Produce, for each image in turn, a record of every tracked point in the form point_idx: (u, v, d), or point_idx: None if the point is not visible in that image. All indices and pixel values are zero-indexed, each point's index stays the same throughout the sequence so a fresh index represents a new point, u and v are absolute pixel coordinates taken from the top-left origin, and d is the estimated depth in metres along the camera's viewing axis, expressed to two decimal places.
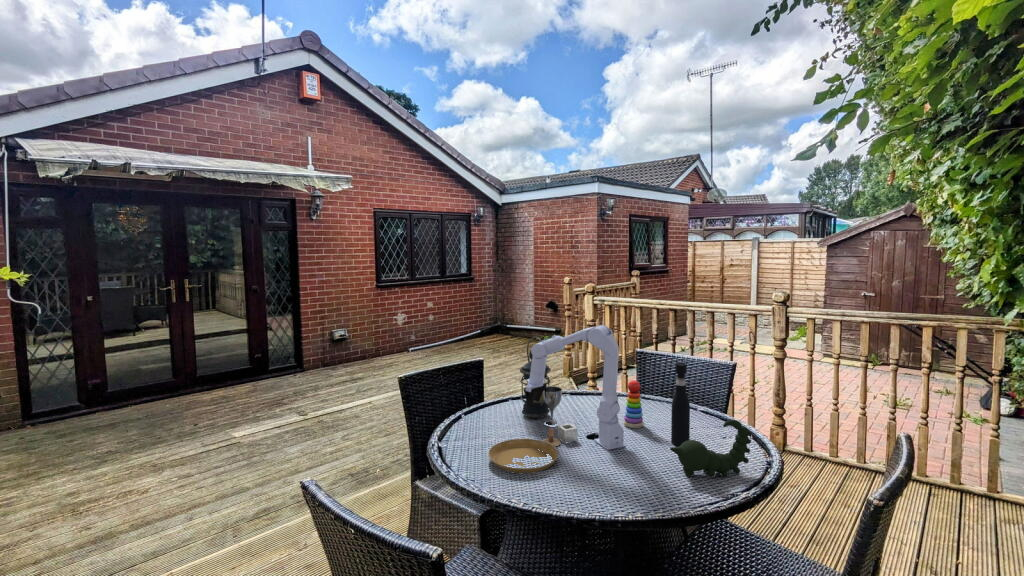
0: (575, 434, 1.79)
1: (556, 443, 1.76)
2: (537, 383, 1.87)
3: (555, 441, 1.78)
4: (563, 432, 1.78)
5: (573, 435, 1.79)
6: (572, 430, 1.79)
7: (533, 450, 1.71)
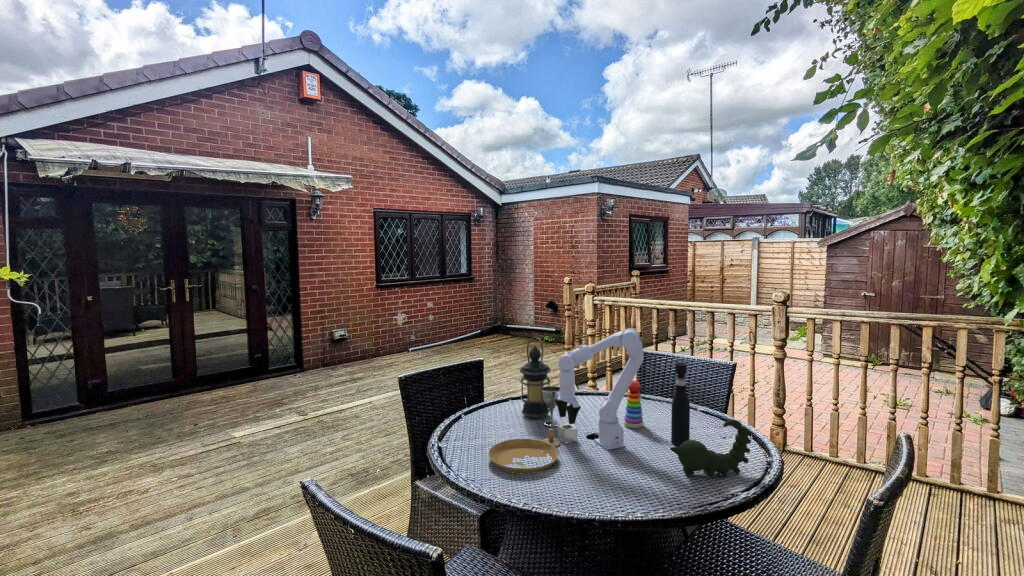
0: (575, 434, 1.79)
1: (556, 443, 1.76)
2: (573, 396, 1.78)
3: (555, 441, 1.78)
4: (563, 432, 1.78)
5: (573, 435, 1.79)
6: (572, 430, 1.79)
7: (533, 450, 1.71)
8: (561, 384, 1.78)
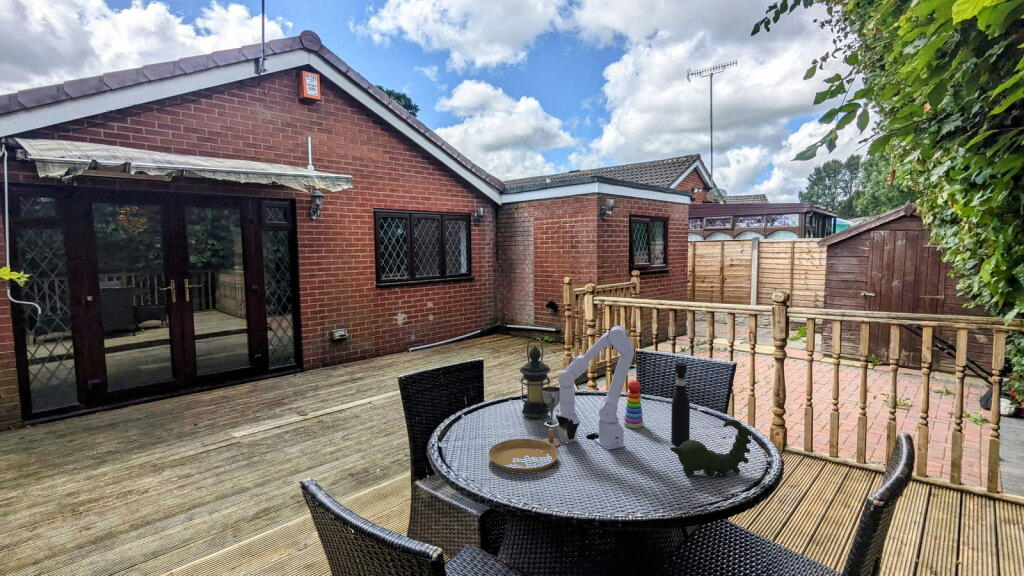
0: (575, 434, 1.79)
1: (556, 443, 1.76)
2: (574, 412, 1.79)
3: (555, 441, 1.78)
4: (563, 432, 1.78)
5: None
6: None
7: (533, 450, 1.71)
8: (561, 400, 1.79)
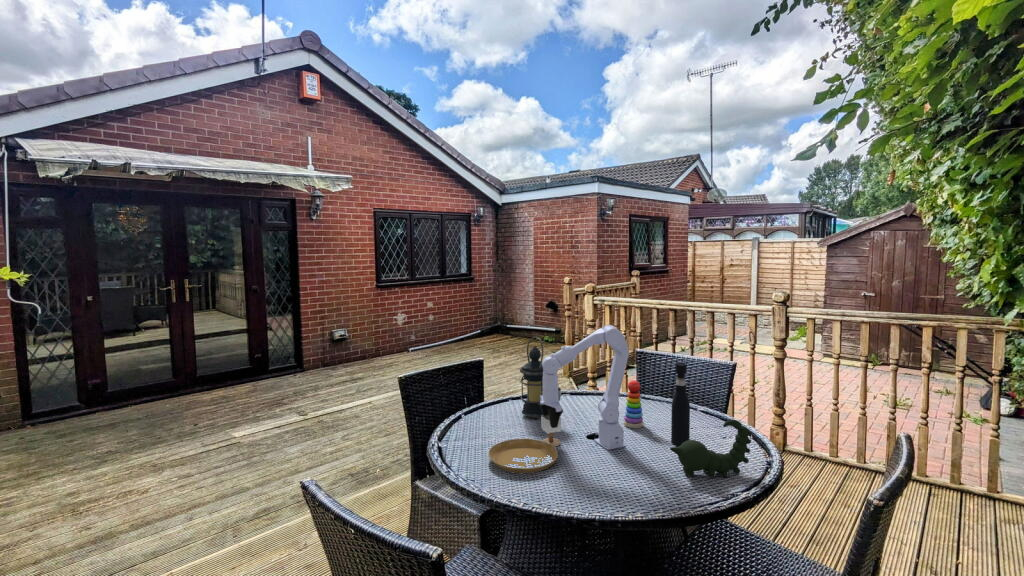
0: (559, 424, 1.75)
1: (556, 443, 1.76)
2: (557, 400, 1.75)
3: (555, 441, 1.78)
4: (546, 422, 1.74)
5: None
6: None
7: (533, 450, 1.71)
8: (545, 388, 1.74)
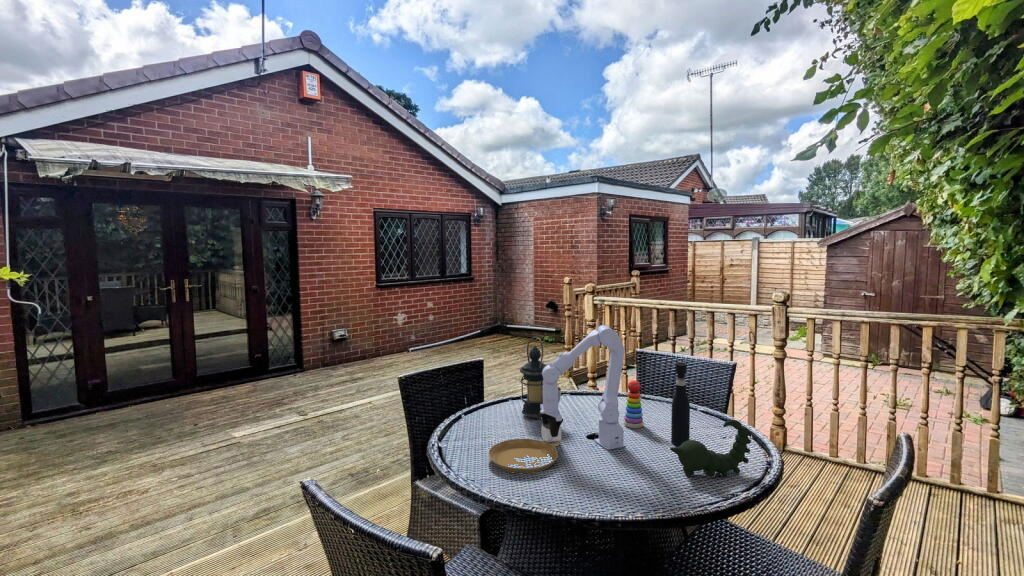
0: (559, 433, 1.76)
1: (556, 443, 1.76)
2: (557, 409, 1.75)
3: (555, 441, 1.78)
4: (546, 431, 1.75)
5: None
6: None
7: (533, 450, 1.71)
8: (546, 397, 1.74)
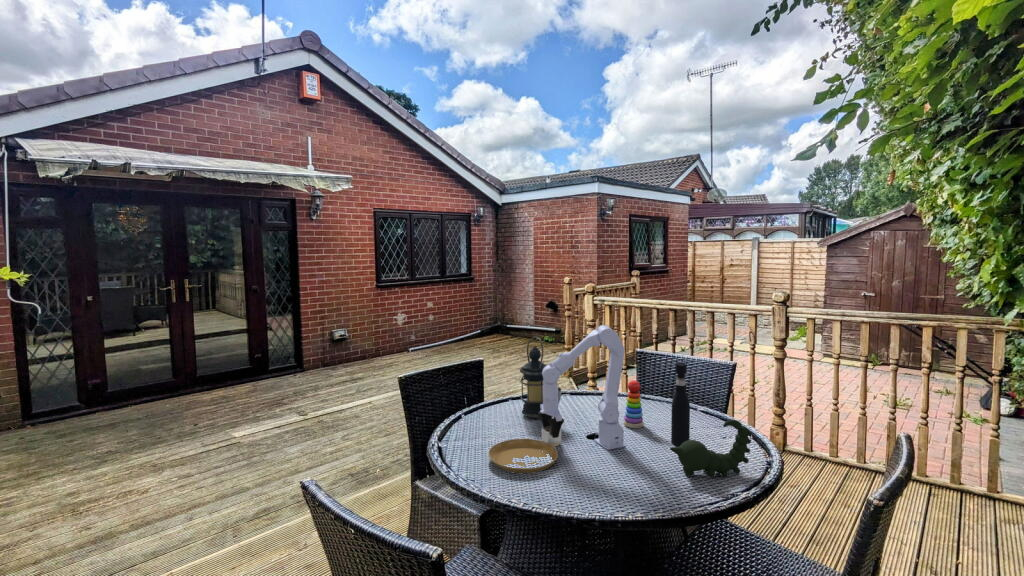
0: (559, 436, 1.76)
1: None
2: (557, 409, 1.75)
3: None
4: (546, 434, 1.75)
5: (557, 437, 1.75)
6: None
7: (533, 450, 1.71)
8: (545, 397, 1.74)
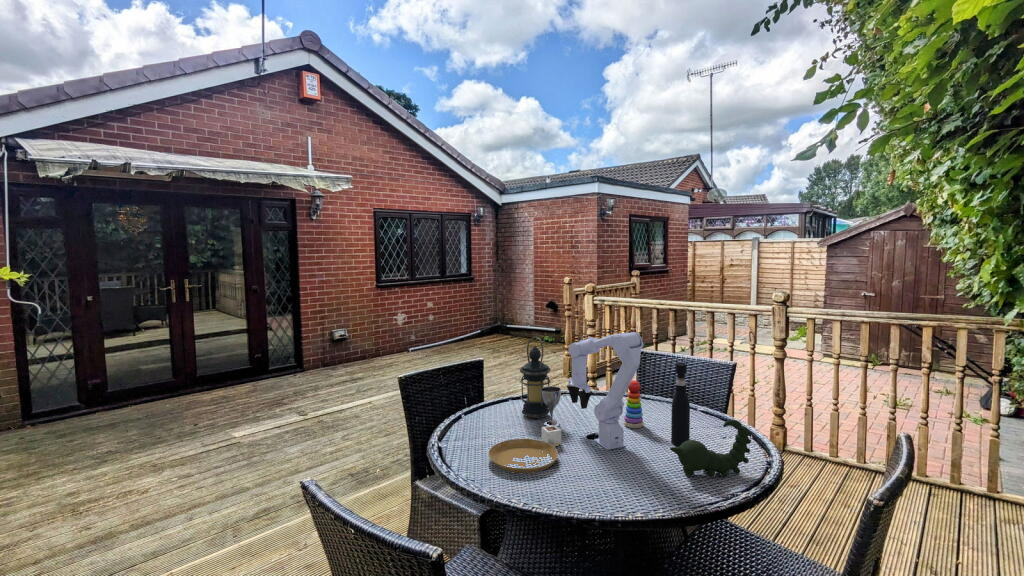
0: (559, 436, 1.76)
1: None
2: (585, 382, 1.87)
3: None
4: (546, 434, 1.75)
5: (557, 437, 1.75)
6: (556, 432, 1.75)
7: (533, 450, 1.71)
8: None
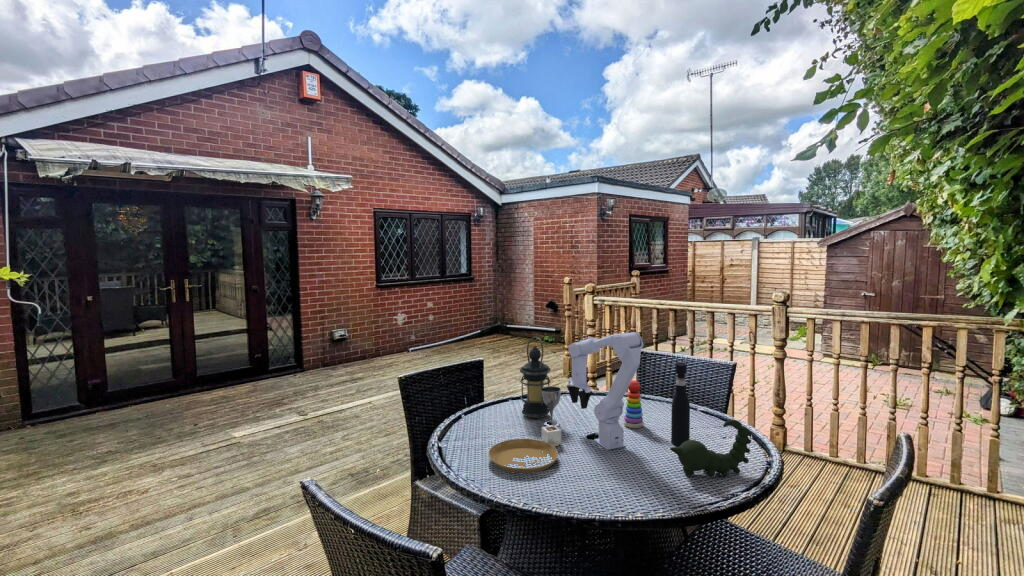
0: (559, 436, 1.76)
1: None
2: (585, 382, 1.87)
3: None
4: (546, 434, 1.75)
5: (557, 437, 1.75)
6: (556, 432, 1.75)
7: (533, 450, 1.71)
8: None
